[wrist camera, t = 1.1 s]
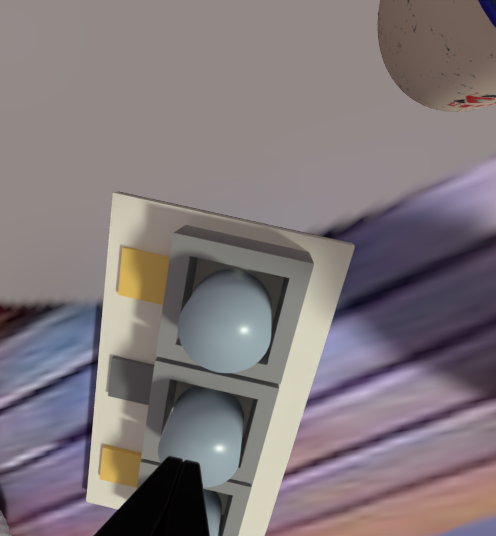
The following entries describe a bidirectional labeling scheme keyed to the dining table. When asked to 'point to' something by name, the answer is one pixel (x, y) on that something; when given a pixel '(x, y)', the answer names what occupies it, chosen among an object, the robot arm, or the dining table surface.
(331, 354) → the dining table surface
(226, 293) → the button
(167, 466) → the robot arm
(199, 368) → the board
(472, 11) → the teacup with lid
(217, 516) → the button
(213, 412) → the button
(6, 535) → the cereal bowl
